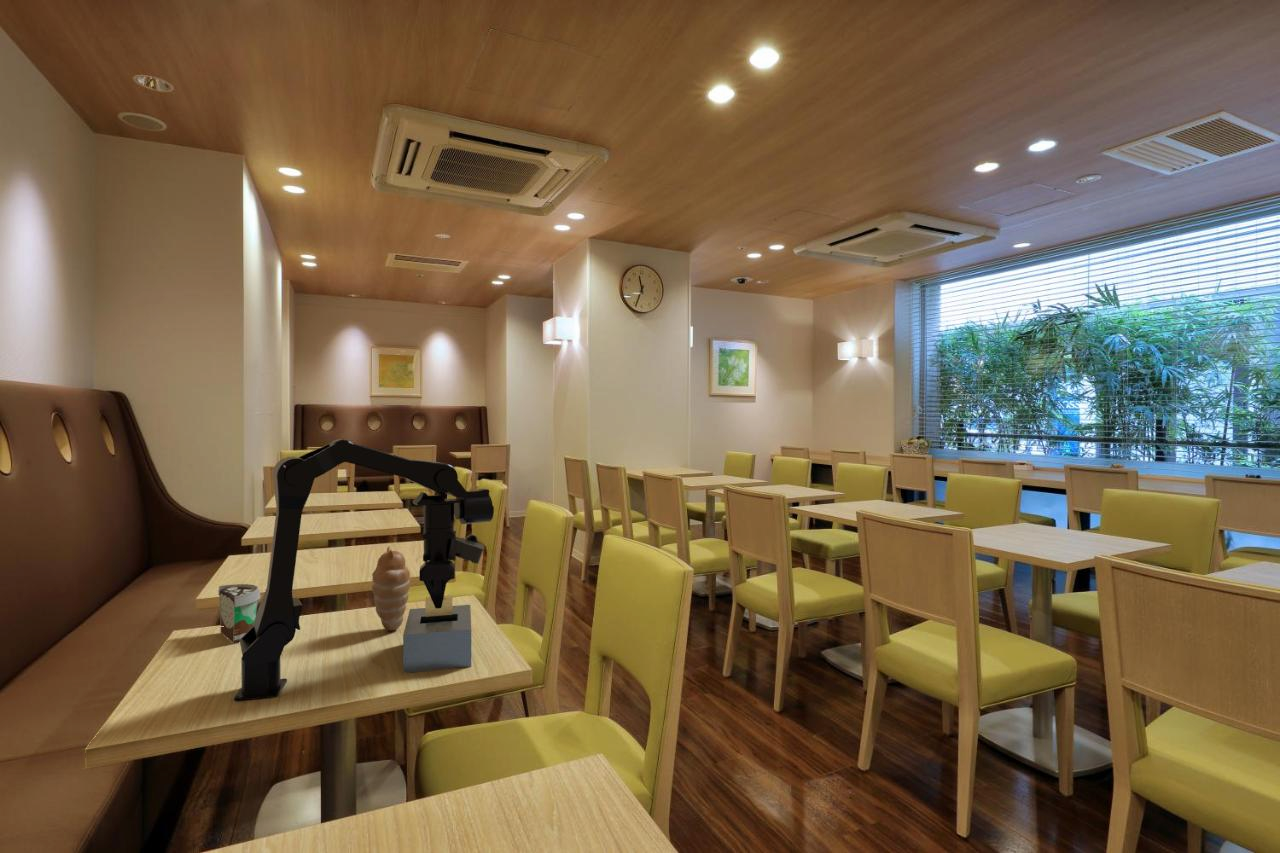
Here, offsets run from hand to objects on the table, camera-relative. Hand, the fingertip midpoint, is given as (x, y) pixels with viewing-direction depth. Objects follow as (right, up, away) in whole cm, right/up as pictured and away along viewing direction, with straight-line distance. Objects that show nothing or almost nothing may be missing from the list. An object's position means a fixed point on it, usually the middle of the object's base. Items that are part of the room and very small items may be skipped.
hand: (438, 605), depth 125 cm
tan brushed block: (0, -2, 0) cm, 2 cm away
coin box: (0, -10, 0) cm, 10 cm away
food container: (-45, -9, +11) cm, 47 cm away
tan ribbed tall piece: (-15, -10, +14) cm, 22 cm away
